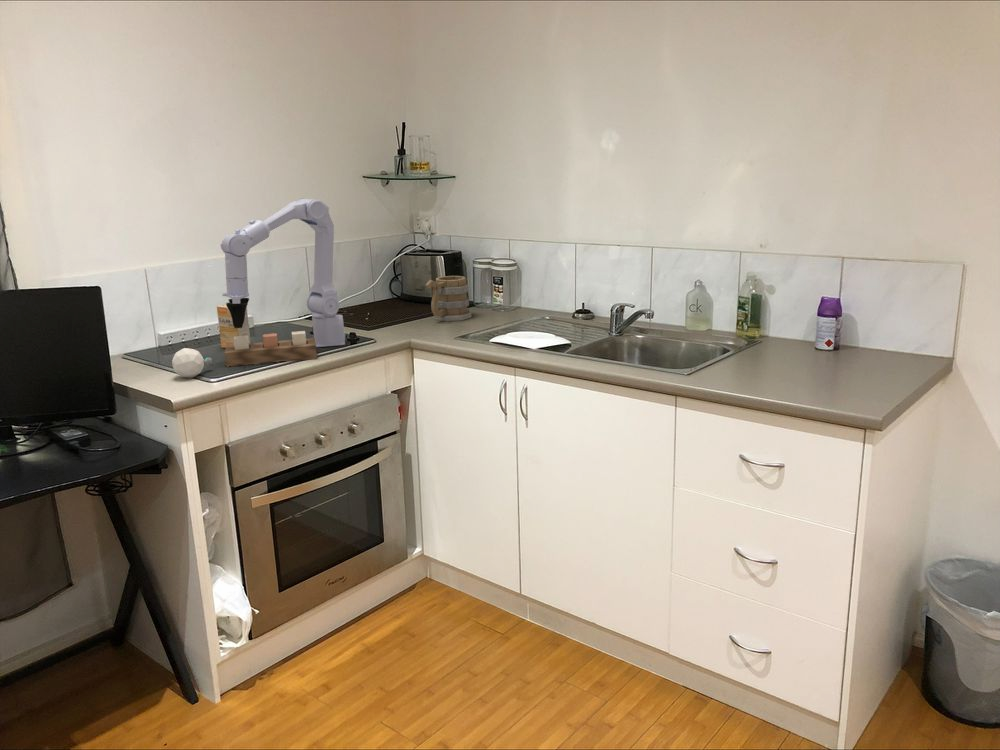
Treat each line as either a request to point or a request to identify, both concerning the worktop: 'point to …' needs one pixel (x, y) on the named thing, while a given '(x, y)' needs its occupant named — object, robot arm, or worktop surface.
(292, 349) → the brown wooden rack
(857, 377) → the worktop surface
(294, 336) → the cream cap
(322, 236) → the robot arm
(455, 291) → the tankard
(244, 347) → the cream cap
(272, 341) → the salmon pink cube
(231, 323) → the supplement box
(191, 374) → the faceted white ball
